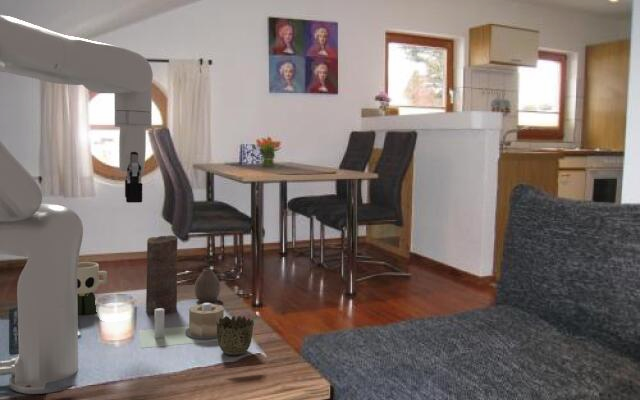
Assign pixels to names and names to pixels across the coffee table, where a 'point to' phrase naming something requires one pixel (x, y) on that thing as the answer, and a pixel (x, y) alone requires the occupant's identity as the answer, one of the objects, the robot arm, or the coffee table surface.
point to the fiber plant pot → (234, 335)
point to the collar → (204, 320)
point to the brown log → (161, 274)
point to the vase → (207, 286)
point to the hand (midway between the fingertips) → (133, 199)
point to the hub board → (171, 333)
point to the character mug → (88, 286)
